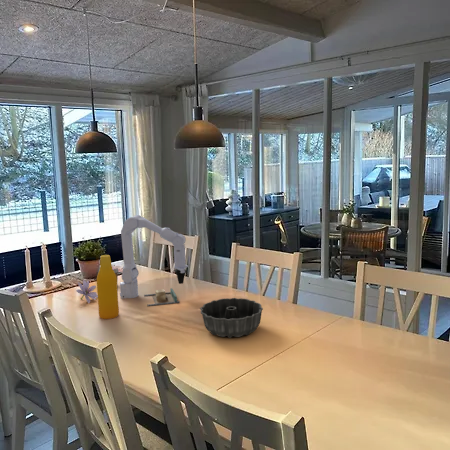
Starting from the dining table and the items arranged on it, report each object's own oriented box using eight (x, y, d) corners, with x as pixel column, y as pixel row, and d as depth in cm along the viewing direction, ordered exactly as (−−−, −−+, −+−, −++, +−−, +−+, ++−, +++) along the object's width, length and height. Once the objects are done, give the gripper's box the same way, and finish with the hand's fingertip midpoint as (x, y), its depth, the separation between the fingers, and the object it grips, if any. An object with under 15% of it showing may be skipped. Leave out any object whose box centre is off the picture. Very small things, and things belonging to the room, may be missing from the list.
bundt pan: (208, 346, 170) (208, 322, 169) (195, 322, 195) (194, 301, 194) (272, 338, 177) (272, 314, 176) (251, 316, 202) (250, 295, 201)
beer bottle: (113, 319, 201) (110, 258, 197) (95, 318, 203) (91, 257, 199) (122, 313, 210) (118, 253, 206) (104, 312, 212) (100, 253, 208)
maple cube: (156, 301, 224) (156, 292, 223) (155, 298, 228) (155, 290, 227) (165, 300, 225) (165, 291, 224) (164, 297, 229) (164, 289, 229)
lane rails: (147, 308, 216) (147, 305, 216) (144, 297, 233) (144, 294, 233) (179, 304, 220) (179, 301, 220) (174, 294, 237) (173, 291, 237)
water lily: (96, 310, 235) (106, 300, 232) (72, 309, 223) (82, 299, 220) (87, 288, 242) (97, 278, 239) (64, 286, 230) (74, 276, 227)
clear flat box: (155, 306, 219) (155, 298, 218) (152, 297, 233) (151, 290, 232) (177, 303, 221) (176, 296, 221) (172, 295, 236) (172, 288, 235)
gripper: (190, 260, 220) (191, 286, 222) (184, 254, 234) (185, 279, 236) (176, 261, 219) (177, 287, 221) (171, 255, 232) (172, 280, 234)
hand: (180, 283), depth 228 cm, fingers closed
